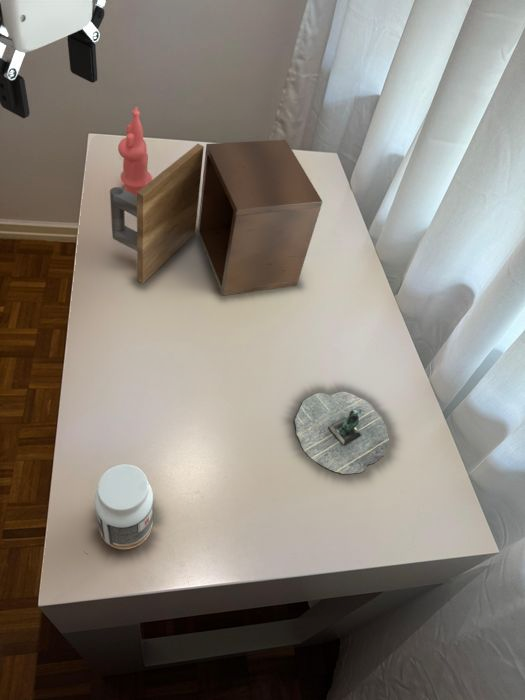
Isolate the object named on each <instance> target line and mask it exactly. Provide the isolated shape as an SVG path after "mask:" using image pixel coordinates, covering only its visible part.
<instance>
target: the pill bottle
mask: <svg viewBox="0 0 525 700" xmlns="http://www.w3.org/2000/svg"><path fill="white" fill-rule="evenodd" d="M93 504H94V509H95V515H96V520H97V527H98V531H99V533H100V536H101V538H102V539H103V540H104V542H105V543H106V544H107V545H108V546H110V547H112V548H115V549H118V550H130V549H134V548H136V547H138V546H140V545H142V544H143V543H144V542H145V541H146V540H147V539H148V537H149V536H150V534H151V532H152V529H153V525H154V524H153V523H154V493H153V489H152V487H151V485H150V483H149V482H148V478H147V475H146V474H145V473H144V471H143V470H142V469H140V468H139V467H138V466H136V465H133V464H129V463H122V464H116V465H114V466H112V467H110V468H108V469H107V470H105V471H104V472H103V473H102V475H101V476H100V478H99V480H98V484H97V489H96V492H95V495H94V503H93Z"/></svg>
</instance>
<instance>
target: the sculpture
mask: <svg viewBox="0 0 525 700" xmlns="http://www.w3.org/2000/svg"><path fill="white" fill-rule="evenodd" d="M294 424H295V433H296V436H297V437H298V440H299V443H300V445H301V448H302V450H303V452H305V453H306V455H307V456H308V457H309V458H310V459H311V460H312V461H314V462H315V463H317V464H319V465H320V466H321V467H324V468H326V469H327V470H330V471H332V472H335V473H339V474H342V475H351V474H352V475H353V474H359V473H362V472H364V471H365V470H367V466H368V465H372V464H375V463H377V462H378V461H379V460H381V458H382V457H384V456H385V454H386V450H387V447H388V443H389V441H390V437H389V434H388V433H389V432H388V429H387V426H386V423H385V420H384V419H383V417H382V415H381V414H380V412H378V411H376V410H375V408H374V407H373V405H372V404H371V403H370V402H368V401H367V400H365V399H364V398H361V397H358V396H357V395H354V394H352V393H350V392H347V391H338V392H337V391H336V392H335V393H333V394H326V393H325V392H318V393H314V394H312V395H311V396H308V397H307V398H306V399H303V401H302V403H301V405H300V407H299V409H298V412H297V414H296V416H295V418H294Z"/></svg>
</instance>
